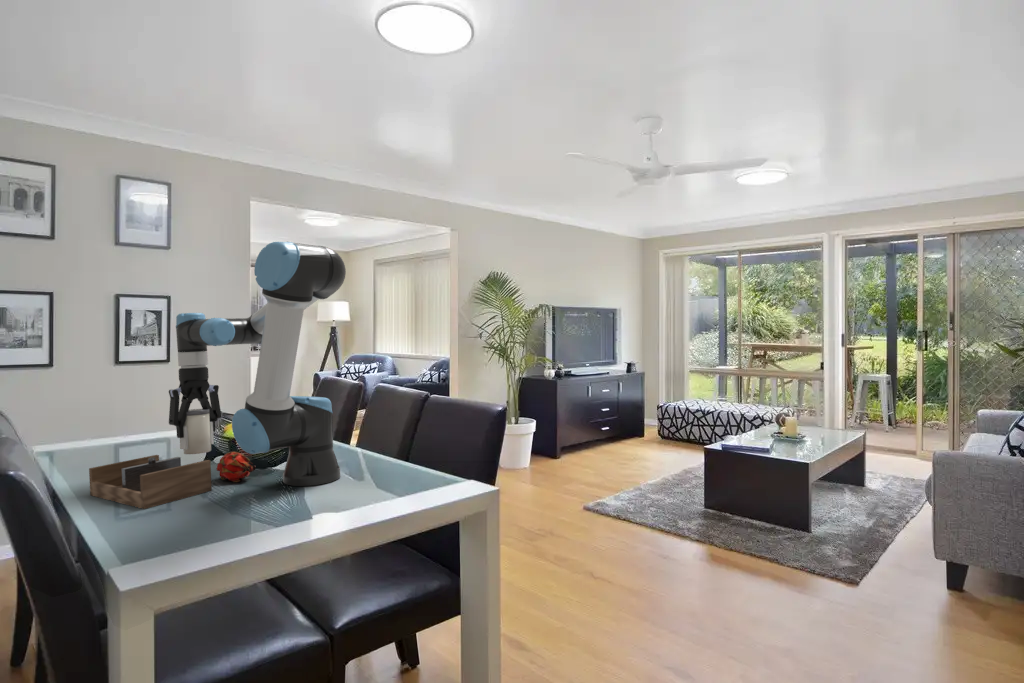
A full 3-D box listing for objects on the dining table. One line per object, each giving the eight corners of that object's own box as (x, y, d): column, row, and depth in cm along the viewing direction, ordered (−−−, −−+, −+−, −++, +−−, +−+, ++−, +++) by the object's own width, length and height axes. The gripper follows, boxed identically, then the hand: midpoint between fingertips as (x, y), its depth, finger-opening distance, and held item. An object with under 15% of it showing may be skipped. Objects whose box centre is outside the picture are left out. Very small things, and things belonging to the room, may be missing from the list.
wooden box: (211, 490, 155) (210, 460, 154) (144, 509, 140) (142, 475, 140) (157, 479, 167) (156, 451, 167) (90, 495, 152) (88, 464, 152)
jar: (216, 450, 172) (214, 409, 171) (192, 455, 166) (190, 412, 165) (201, 448, 175) (199, 408, 175) (177, 453, 169) (175, 411, 169)
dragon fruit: (225, 481, 170) (249, 493, 163) (202, 469, 164) (225, 482, 157) (243, 454, 173) (267, 465, 166) (221, 442, 167) (244, 453, 160)
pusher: (181, 482, 159) (180, 452, 158) (126, 496, 146) (124, 464, 146) (178, 481, 159) (177, 452, 159) (122, 495, 147) (121, 463, 147)
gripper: (217, 364, 180) (221, 439, 181) (150, 369, 163) (154, 452, 164) (232, 364, 177) (236, 440, 177) (165, 369, 159) (170, 454, 160)
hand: (197, 446), depth 170 cm, fingers closed on jar, 7 cm apart
